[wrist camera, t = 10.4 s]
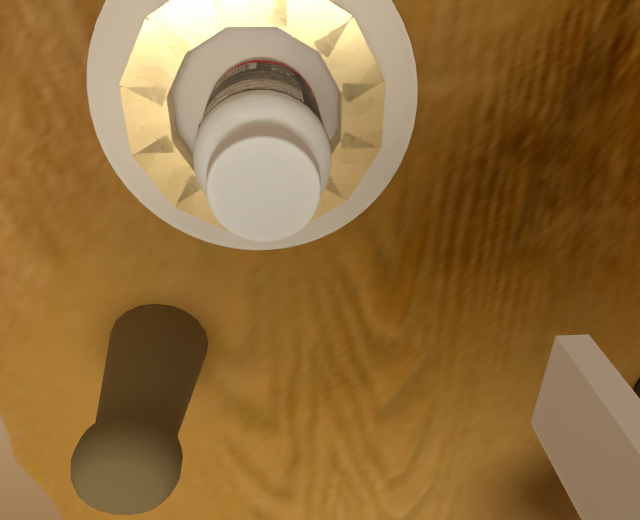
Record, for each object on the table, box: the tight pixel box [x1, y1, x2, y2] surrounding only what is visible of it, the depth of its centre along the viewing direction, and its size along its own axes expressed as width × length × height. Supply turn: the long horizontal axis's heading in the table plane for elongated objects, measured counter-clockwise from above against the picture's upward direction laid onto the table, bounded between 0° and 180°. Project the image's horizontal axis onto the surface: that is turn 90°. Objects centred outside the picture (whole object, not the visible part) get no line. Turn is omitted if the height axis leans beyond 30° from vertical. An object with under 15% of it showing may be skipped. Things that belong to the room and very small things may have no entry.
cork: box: [71, 304, 208, 515], centre depth 30 cm, size 6×6×11 cm
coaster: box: [87, 0, 418, 250], centre depth 27 cm, size 16×16×1 cm
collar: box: [119, 0, 386, 233], centre depth 26 cm, size 12×12×2 cm
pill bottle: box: [193, 58, 331, 242], centre depth 23 cm, size 5×5×10 cm
